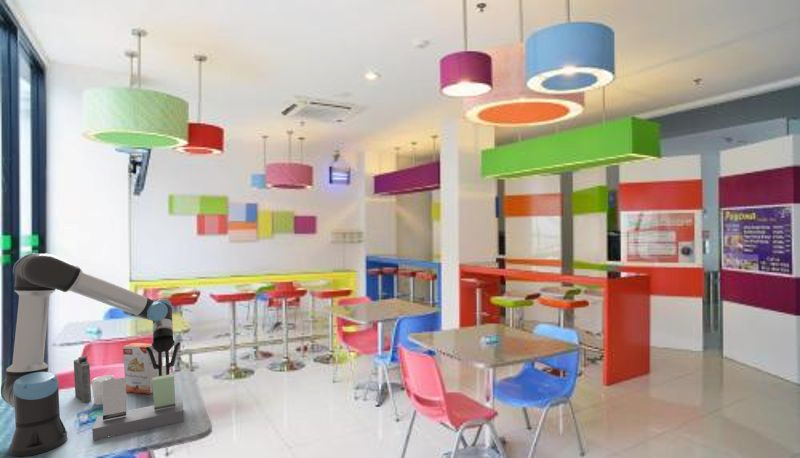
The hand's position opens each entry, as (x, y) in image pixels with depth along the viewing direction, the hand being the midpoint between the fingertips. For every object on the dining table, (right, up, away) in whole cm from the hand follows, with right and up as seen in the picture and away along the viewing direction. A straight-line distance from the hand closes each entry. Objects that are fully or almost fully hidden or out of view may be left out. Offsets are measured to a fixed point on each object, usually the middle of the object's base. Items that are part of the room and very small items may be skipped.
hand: (164, 382), depth 176 cm
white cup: (-32, -13, +13) cm, 37 cm away
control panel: (-3, -11, -11) cm, 16 cm away
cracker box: (-22, -12, +24) cm, 35 cm away
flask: (-44, -13, +18) cm, 50 cm away
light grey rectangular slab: (-10, -7, -15) cm, 19 cm away
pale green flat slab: (+4, -6, -8) cm, 11 cm away
